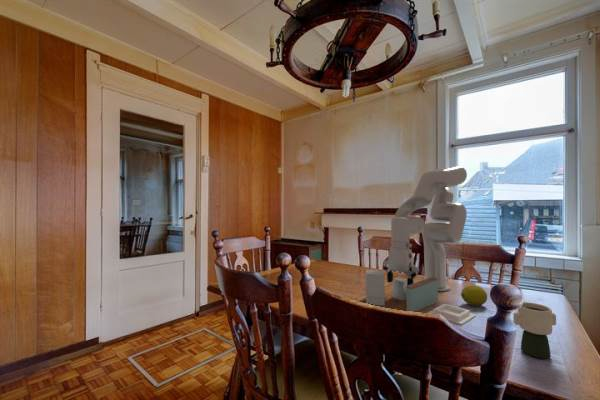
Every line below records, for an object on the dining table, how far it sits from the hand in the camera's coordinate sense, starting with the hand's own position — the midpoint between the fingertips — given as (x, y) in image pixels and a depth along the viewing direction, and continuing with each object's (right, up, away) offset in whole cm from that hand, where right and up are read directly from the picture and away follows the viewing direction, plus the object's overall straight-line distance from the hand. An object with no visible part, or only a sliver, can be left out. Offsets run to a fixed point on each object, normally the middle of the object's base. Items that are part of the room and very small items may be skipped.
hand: (399, 284), depth 120 cm
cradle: (+12, -6, -18) cm, 23 cm away
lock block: (+1, -6, 0) cm, 6 cm away
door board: (+6, -6, -10) cm, 13 cm away
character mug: (+21, -6, -45) cm, 50 cm away
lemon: (+27, -6, -9) cm, 29 cm away
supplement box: (-12, -6, -4) cm, 14 cm away
